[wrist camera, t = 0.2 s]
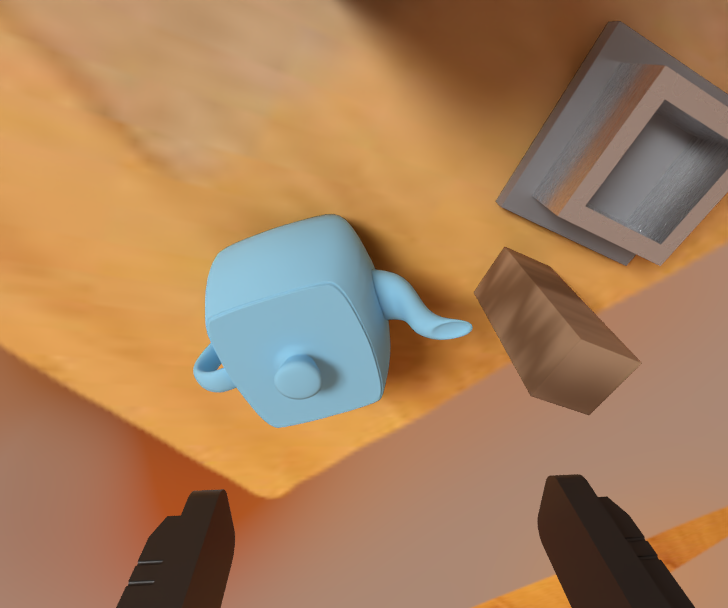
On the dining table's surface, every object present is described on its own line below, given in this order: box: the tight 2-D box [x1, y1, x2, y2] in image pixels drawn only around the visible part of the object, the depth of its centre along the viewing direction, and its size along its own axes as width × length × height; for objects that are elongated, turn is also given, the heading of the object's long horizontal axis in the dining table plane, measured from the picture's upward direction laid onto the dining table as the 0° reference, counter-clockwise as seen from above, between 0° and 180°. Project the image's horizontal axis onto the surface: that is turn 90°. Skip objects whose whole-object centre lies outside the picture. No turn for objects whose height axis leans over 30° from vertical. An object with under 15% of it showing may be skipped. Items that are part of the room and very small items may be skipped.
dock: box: [496, 21, 728, 266], centre depth 27 cm, size 12×12×5 cm
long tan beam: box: [474, 247, 642, 415], centre depth 29 cm, size 4×4×12 cm
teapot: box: [193, 214, 473, 428], centre depth 28 cm, size 12×18×12 cm
